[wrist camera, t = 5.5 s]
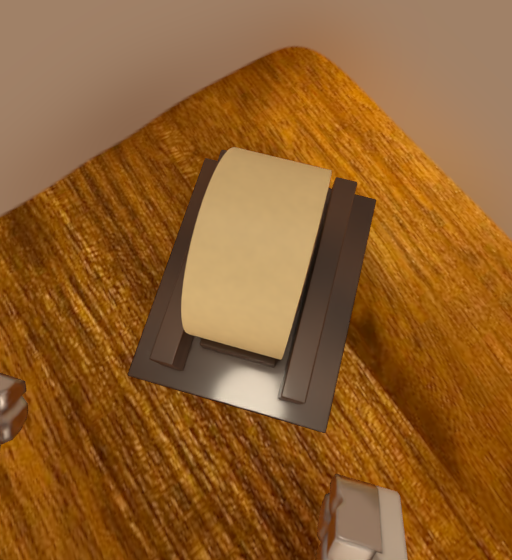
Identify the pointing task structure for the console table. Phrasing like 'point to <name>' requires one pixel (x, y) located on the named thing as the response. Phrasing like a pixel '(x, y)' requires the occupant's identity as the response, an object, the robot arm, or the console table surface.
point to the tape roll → (252, 250)
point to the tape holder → (303, 336)
